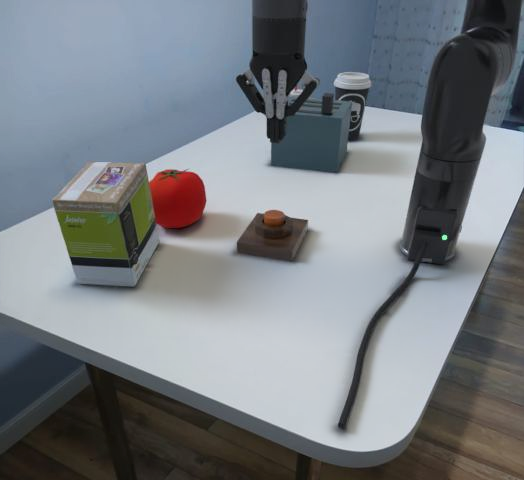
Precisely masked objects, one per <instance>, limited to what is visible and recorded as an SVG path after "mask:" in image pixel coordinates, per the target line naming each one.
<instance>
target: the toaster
mask: <svg viewBox="0 0 524 480" xmlns="http://www.w3.org/2000/svg"><path fill="white" fill-rule="evenodd" d="M297 98H298V97H291V96H290V99H289V105H292V104H293V103H294V101H295V100H296V99H297ZM351 108H352V102H351V101H339V100H335V99H333V109H332V112H331V113H330V114H323V113H321V109H322V98H313V97H309V98H308V99H307V100H306V101H305V103H304V104H303V105H302V106H301V108H300V109H299V110H298V111H297V112H296V113H295V115H294V116H287V119H286V135H285V137H284V139H283V140H282V141H281V142H280V143H270V146H271V147H270V166H274V167H282V168H283V167H284V168H292V169H300V170H308V171H309V170H310V171H319V172H326V173H327V172H328V173H336V174H337V173H338V170H339V168H340V167H341V165H342V162H343V161H344V158H345V156H346V155H347V153H348V143H349V141H348V135H349V126H350V117H351Z"/></svg>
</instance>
